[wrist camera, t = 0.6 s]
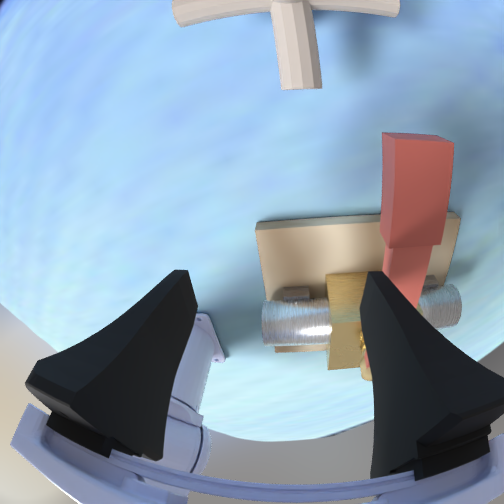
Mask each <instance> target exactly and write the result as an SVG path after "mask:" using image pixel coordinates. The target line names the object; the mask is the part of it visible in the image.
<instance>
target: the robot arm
mask: <svg viewBox="0 0 504 504" xmlns="http://www.w3.org/2000/svg"><path fill="white" fill-rule="evenodd" d="M197 308H198V305H197V301H196V298H195V294H194V291H193V287H192V283H191V280H190V276H189V272H188V270H174V271H172V272H171V273H170V274H169V275H168V276H166V277H165V278H164V279H163V280H162V281H161V282H160V283H159V284H157V285H156V286H155V287H154V288H153V289H152V290H151V291H150V292H149V293H147V294H146V295H145V296H144V297H143V298H142V299H141V300H140V301H138V302H137V303H136V304H135V305H133V306H132V307H131V308H130V309H129V310H127V311H126V312H125V313H124V314H123V315H121V316H120V317H119V318H117V319H116V320H115V321H113V322H112V323H110V324H109V325H108V326H106V327H105V328H103V329H102V330H100V331H99V332H97V333H95V334H94V335H92V336H90V337H89V338H87V339H85V340H84V341H82V342H80V343H78V344H76V345H74V346H72V347H70V348H68V349H66V350H64V351H61V352H59V353H57V354H54V355H52V356H49V357H46V358H44V359H41V360H38V361H37V363H36V364H35V366H34V368H33V370H32V371H31V373H30V375H29V377H28V379H27V380H26V382H25V385H26V388H27V389H28V390H29V391H30V392H31V393H32V394H33V395H34V396H35V397H36V398H37V399H39V401H41V402H42V403H43V404H44V405H45V406H46V407H48V408H49V409H50V410H51V411H52V413H51V415H50V416H49V415H48V414H46V413H45V412H43V411H42V410H40V409H38V408H37V407H35V406H34V405H32V404H31V403H29V404H28V405H27V407H26V410H25V412H24V414H23V416H22V418H21V420H20V423H19V425H18V427H17V429H16V431H15V434H14V436H13V438H12V441H11V444H10V445H11V447H12V448H13V449H15V450H16V451H17V452H18V453H19V454H20V455H21V456H23V457H24V458H25V459H26V460H27V461H28V462H29V463H31V464H32V465H33V466H34V467H35V468H36V469H37V470H38V471H39V472H41V473H42V474H43V475H44V476H45V477H46V478H47V479H49V480H50V481H51V482H52V483H53V484H54V485H56V486H57V487H58V488H59V489H61V490H62V491H63V492H64V493H66V494H67V495H68V496H70V497H71V498H72V499H74V500H75V501H77V502H78V503H79V504H187V501H188V497H187V496H188V494H189V492H190V491H195V492H199V493H204V494H209V495H215V496H221V497H228V498H235V499H243V500H252V501H265V502H290V503H291V502H293V503H298V502H299V503H300V502H327V501H339V500H348V499H356V498H363V497H369V496H376V495H377V496H376V497H374V499H373V500H372V501H371V502H367V503H361V504H487V503H489V502H490V501H492V500H493V499H495V498H497V497H498V496H499V495H501V494H503V493H504V433H502V434H500V435H498V436H497V437H495V438H493V439H491V440H489V441H488V436H487V435H488V434H490V433H491V427H490V424H491V423H493V422H494V421H495V420H496V419H498V418H499V417H500V416H501V415H502V414H504V378H503V377H502V376H500V375H498V374H496V373H494V372H492V371H491V370H489V369H487V368H485V367H484V366H482V365H481V364H479V363H478V362H476V361H475V360H473V359H472V358H471V357H469V356H468V355H466V354H465V353H464V352H462V351H461V350H460V349H459V348H457V347H456V346H455V345H453V344H452V343H451V342H450V341H449V340H447V339H446V338H445V337H444V336H443V335H442V334H441V333H440V332H439V331H437V330H436V329H435V328H434V327H433V326H432V325H431V324H430V323H429V322H428V321H427V320H426V319H425V318H424V317H423V316H422V315H421V314H420V313H419V312H418V311H417V309H416V308H415V307H414V306H413V305H412V304H411V303H410V302H409V301H408V300H407V298H406V297H405V296H404V295H403V294H402V293H401V292H400V291H399V289H398V288H397V287H396V286H395V285H394V284H393V282H392V281H391V280H390V279H389V278H388V277H387V276H386V275H385V274H384V272H383V271H368V274H367V278H366V283H365V287H364V292H363V296H362V300H361V304H360V308H359V310H360V319H361V327H362V333H363V338H364V342H365V347H366V351H367V356H368V361H369V365H370V370H371V375H372V382H373V394H374V445H373V456H372V465H371V472H370V477H371V478H370V479H367V480H361V481H352V482H343V483H331V484H310V485H307V484H306V485H288V484H287V485H286V484H265V483H252V482H242V481H234V480H227V479H220V478H214V477H208V476H203V475H201V474H202V472H203V471H204V469H205V467H206V465H207V463H208V460H209V457H210V452H211V444H212V443H211V442H212V441H211V436H210V433H209V431H208V428H207V427H206V426H205V425H202V421H203V417H204V416H203V415H200V414H198V413H199V409H200V405H201V401H202V397H203V393H204V389H205V385H206V381H207V377H208V373H209V370H210V366H211V362H220V363H223V362H225V359H226V358H225V356H224V353H223V351H222V348H221V346H220V343H219V341H218V338H217V335H216V333H215V330H214V328H213V325H212V322H211V320H210V317H209V316H208V315H207V314H197Z"/></svg>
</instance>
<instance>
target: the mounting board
mask: <svg viewBox="0 0 504 504" xmlns="http://www.w3.org/2000/svg"><path fill="white" fill-rule="evenodd" d="M380 219H381V214H376V215H357V216H340V217H324V218H309V219H295V220H282V221H269V222H257V224H256V228H255V233H256V239H257V245H258V251H259V257H260V263H261V269H262V275H263V281H264V287H265V293H266V299H267V301H270V300H283V288H284V287H292V286H309V295H310V298H324V297H325V274H338V273H351V272H364V271H376V270H382V268H383V261H384V254H385V246H386V243H385V241H384V239H383V237H382V235H381V234H380V232H379V231H380ZM460 220H461V218H460V217H459V216H458V215H457V214H456V213H455V212H447V216H446V222H445V227H444V232H443V237H442V242H441V245H433V248H432V252H431V257H430V261H429V265H428V269H427V273H426V275H434V276H435V278H436V279H437V281H438V283H439V285H438V286H443V285H444V282H445V279H446V276H447V273H448V269H449V266H450V262H451V259H452V255H453V251H454V247H455V243H456V239H457V234H458V230H459V225H460ZM274 347H275V353H279V352H307V351H324V350H326V344H315V345H295V346H274Z"/></svg>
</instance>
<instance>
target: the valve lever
mask: <svg viewBox="0 0 504 504" xmlns="http://www.w3.org/2000/svg"><path fill="white" fill-rule="evenodd" d="M382 153H383V170H382V202H381V219H380V231H379V232H380V234H381V235H382V237H383V239H384V241H385V243H386V246H385V254H384V261H383V268H382V271H383V272H384V274H385V275H386V276H387V277H388V278H389V279H390V280H391V281H392V282H393V284H394V285H395V286H396V287H397V288H398V289H399V291H400V292H401V293H402V294H403V295H404V296H405V297H406V298H407V300H408V301H409V302H410V303H411V304H412V305H413V306H414V307H415V308H417V304H418V301H419V298H420V295H421V291H422V288H423V284H424V281H425V277H426V273H427V269H428V265H429V261H430V257H431V252H432V248H433V245H441V242H442V237H443V232H444V227H445V222H446V216H447V210H448V203H449V196H450V188H451V179H452V169H453V155H454V143H453V142H451V141H448V140H446V139H444V138H442V137H439V136H437V135H425V134H409V133H382ZM360 368H361V375H362V378H363V379H364V380H367V381H372V375H371V370H370V365H369V361H368V356H367V351H366V352H365V355H364V357H363V358H362V359H361V361H360Z"/></svg>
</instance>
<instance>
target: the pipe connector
mask: <svg viewBox="0 0 504 504" xmlns="http://www.w3.org/2000/svg"><path fill="white" fill-rule="evenodd" d="M399 9H400V0H173V1H172V10H173V15H174V18H175V20H176V22H177V24H178V25H179V26H180V27H186V26H189V25H193V24H197V23H202V22H206V21H211V20H216V19H221V18H226V17H232V16H238V15H245V14H253V13H262V12H270V13H271V18H272V24H273V31H274V37H275V44H276V52H277V59H278V67H279V74H280V83H281V90H294V89H322V79H321V70H320V61H319V53H318V46H317V39H316V32H315V25H314V19H313V13H312V10H332V11H348V12H359V13H367V14H375V15H382V16H388V17H396V16H397V15H398V14H399Z"/></svg>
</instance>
